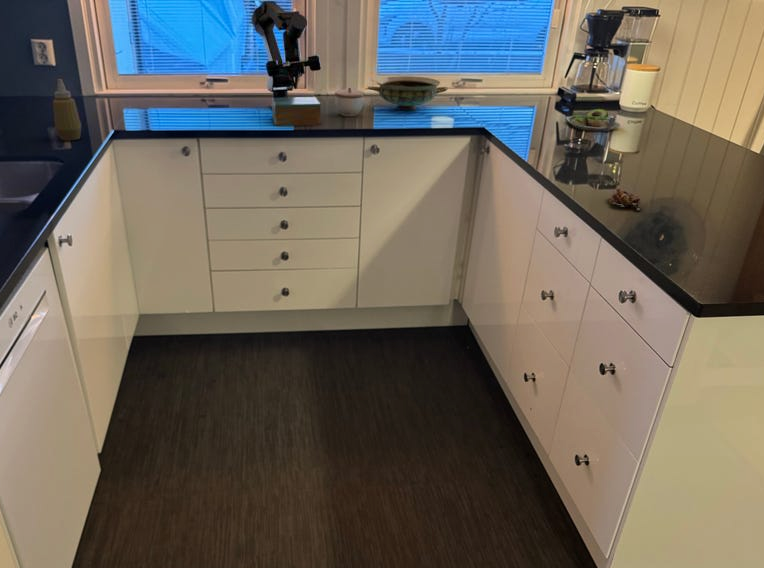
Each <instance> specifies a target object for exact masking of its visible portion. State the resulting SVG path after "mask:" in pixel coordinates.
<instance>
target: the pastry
mask: <svg viewBox="0 0 764 568" xmlns="http://www.w3.org/2000/svg"><path fill="white" fill-rule="evenodd" d="M633 194H634V193H630V192H628V191H627V190H621V188H619V187H617V188H616V192H615V193H614V194H613V196H611V197H610V198H608V203H609V204H610V205H615V204H617V205H618V204H622V205H626V206H631V204H632V203H637V204H636V205H633V204H632V205H633V207H635V208H634V211H636V212H639V211H640V210H641V209H640V206H639V204H638V203H639V202H640V197H639V196H637V194H635V195H633ZM611 198H612V199H611ZM611 203H612V204H611ZM629 204H630V205H629ZM617 205H616V206H617ZM626 206H620V207H621V208H623V207H626Z"/></svg>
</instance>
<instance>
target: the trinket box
mask: <svg viewBox="0 0 764 568" xmlns="http://www.w3.org/2000/svg"><path fill="white" fill-rule="evenodd" d="M334 99H335V107H336V110H337V111H338V112H339V113H340V115H341V116H344V117H356V116H358V114H359V113H360V112H361V111H362V109H363V107H364V101H365V91H362V90H359V89H352V87H348V89H340V90H336V91H335V92H334Z"/></svg>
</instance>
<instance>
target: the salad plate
mask: <svg viewBox="0 0 764 568" xmlns="http://www.w3.org/2000/svg"><path fill="white" fill-rule="evenodd" d="M565 121H566V123H567V124H568V125H569V126H571V127H572V128H575V129H578V130H580V131H585V132H609V131H613V130H615V129H618V128H620V127H621V123H619V122H617V121H616V118H615V117H612V116H609V112H608V110H606V109H604V108H595V109H591V110H588V111H587V112H586V114H585V115H579V114H575V115H570V116H567V117H566V118H565Z"/></svg>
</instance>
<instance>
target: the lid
mask: <svg viewBox="0 0 764 568" xmlns="http://www.w3.org/2000/svg"><path fill="white" fill-rule="evenodd" d="M272 101H273V103H274V105H275V107H310V106H320V107H321V106H322V105H321V103H320V101H319V100H318V99H317V97H316V96H298V97H297V96H295V97H293V96H291V97H288V98H273V97H271V102H272Z"/></svg>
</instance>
